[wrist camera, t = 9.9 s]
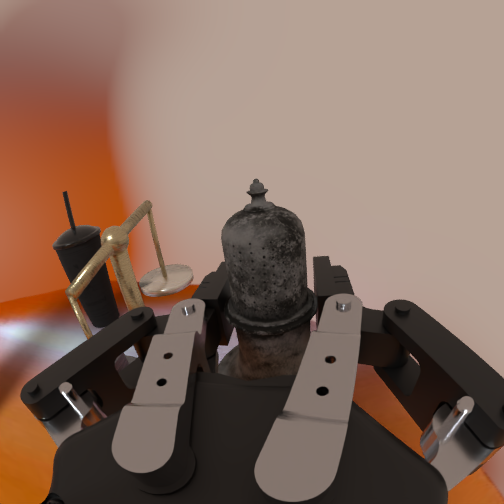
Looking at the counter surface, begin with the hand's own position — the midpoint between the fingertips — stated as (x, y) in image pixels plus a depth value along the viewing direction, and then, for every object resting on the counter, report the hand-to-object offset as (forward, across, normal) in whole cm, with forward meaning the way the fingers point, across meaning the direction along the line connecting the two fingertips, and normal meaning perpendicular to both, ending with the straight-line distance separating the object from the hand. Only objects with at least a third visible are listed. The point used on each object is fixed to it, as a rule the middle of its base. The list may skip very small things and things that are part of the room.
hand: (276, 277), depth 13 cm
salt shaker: (-3, 0, +7) cm, 8 cm away
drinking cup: (+14, +28, +14) cm, 35 cm away
